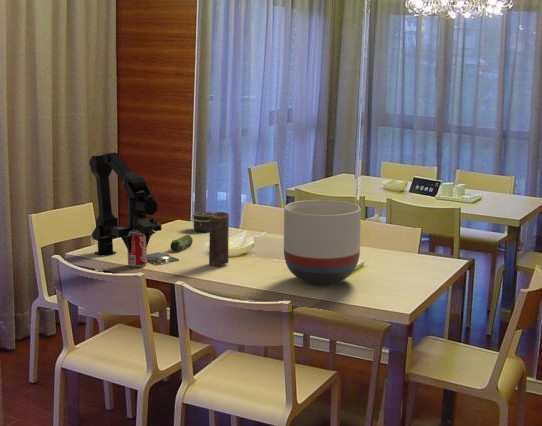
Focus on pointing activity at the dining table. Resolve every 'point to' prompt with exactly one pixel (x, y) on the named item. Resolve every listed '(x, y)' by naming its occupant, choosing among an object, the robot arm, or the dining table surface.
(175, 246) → the vegetable
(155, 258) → the pawl stand
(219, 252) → the candle
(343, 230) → the planter
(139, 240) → the soda can
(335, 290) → the dining table surface
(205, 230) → the jar
